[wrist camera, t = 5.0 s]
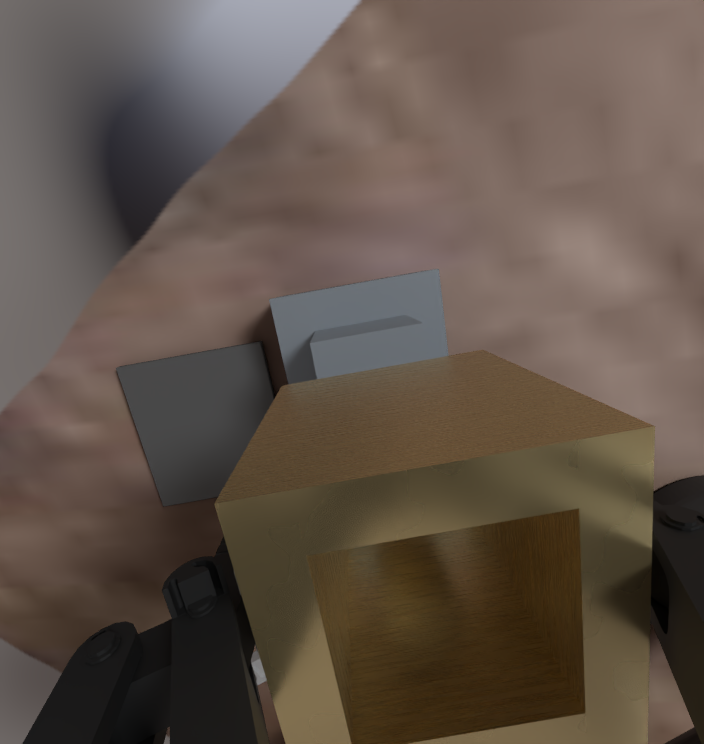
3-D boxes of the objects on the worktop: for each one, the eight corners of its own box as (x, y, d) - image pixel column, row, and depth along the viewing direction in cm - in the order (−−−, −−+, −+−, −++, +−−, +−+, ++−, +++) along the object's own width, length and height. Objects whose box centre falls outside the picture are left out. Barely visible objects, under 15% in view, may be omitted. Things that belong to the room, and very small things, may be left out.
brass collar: (498, 525, 16) (647, 748, 8) (321, 556, 16) (304, 805, 8) (482, 349, 14) (654, 425, 6) (282, 385, 14) (214, 503, 7)
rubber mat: (294, 479, 31) (293, 483, 30) (166, 502, 31) (163, 506, 30) (261, 341, 28) (260, 342, 27) (120, 366, 28) (115, 368, 27)
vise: (444, 441, 30) (572, 629, 14) (315, 464, 31) (290, 679, 14) (424, 270, 27) (559, 252, 11) (278, 297, 27) (188, 319, 11)
